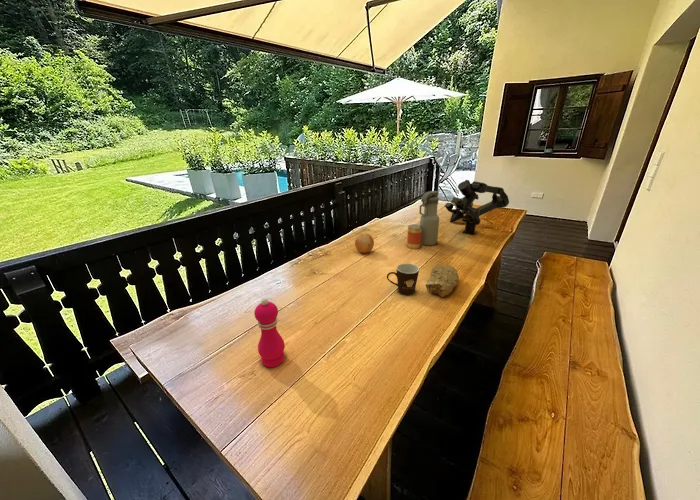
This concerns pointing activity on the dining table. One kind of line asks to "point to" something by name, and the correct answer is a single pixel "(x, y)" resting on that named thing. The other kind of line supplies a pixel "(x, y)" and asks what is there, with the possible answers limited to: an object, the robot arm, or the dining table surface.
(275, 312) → the pepper mill
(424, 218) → the water bottle
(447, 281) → the rock
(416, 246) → the tin can
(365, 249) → the onion
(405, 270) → the coffee mug
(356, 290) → the dining table surface
